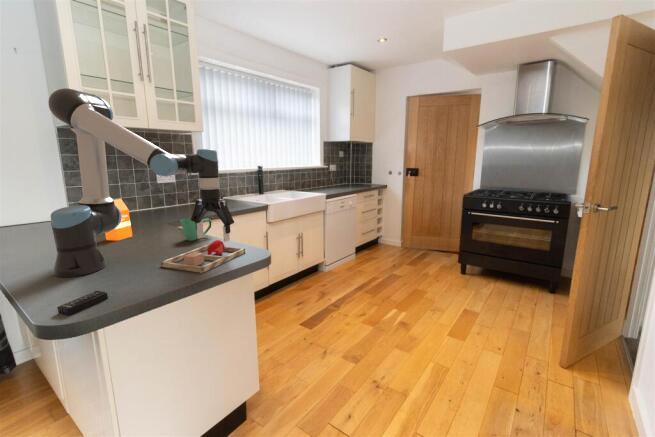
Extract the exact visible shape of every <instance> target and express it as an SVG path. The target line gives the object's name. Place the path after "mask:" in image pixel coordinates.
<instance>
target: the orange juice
mask: <svg viewBox="0 0 655 437" xmlns="http://www.w3.org/2000/svg"><path fill="white" fill-rule="evenodd" d="M114 202H115V205H116V206H117V208H119V209H120V211H121V215H122V218H121V222H120V224H119V225H118V226H117V227H116V228H115V229H113V230H111V231H110V232H107V233H104V234H105V239H106V241H121V240H124V239H128V238H131V237H133V230H132V224H131V218H130V211H129V208H128V207H127V205H126V204H125V202H124V201H123V200H122V198H117V199H114Z"/></svg>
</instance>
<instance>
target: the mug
mask: <svg viewBox="0 0 655 437" xmlns="http://www.w3.org/2000/svg"><path fill="white" fill-rule="evenodd" d="M201 222H203V223H206V222H208V223H209V224H208V226H207V228H206V229H205V231H203V234H204V235H206V234H207V233H208V232H209V231H210V229H212V220H211V219H210V218H203V219H202V220H201ZM180 226H181V228H182V233H184V236H185V238H186V239H187V241H196V239H197V240H198V236H197V230H196V224H195V222H194V221H191V217H190V218H189V217H188V218H183V219H180Z"/></svg>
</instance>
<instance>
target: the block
mask: <svg viewBox="0 0 655 437" xmlns="http://www.w3.org/2000/svg"><path fill="white" fill-rule="evenodd" d="M203 254H204V252H200V253H197V252H192V253H189V254H187V255H185V256H183V257H184V259H183V264H185V265H192V266H201V265H202V264H204V263H205V260H204V255H203Z"/></svg>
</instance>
